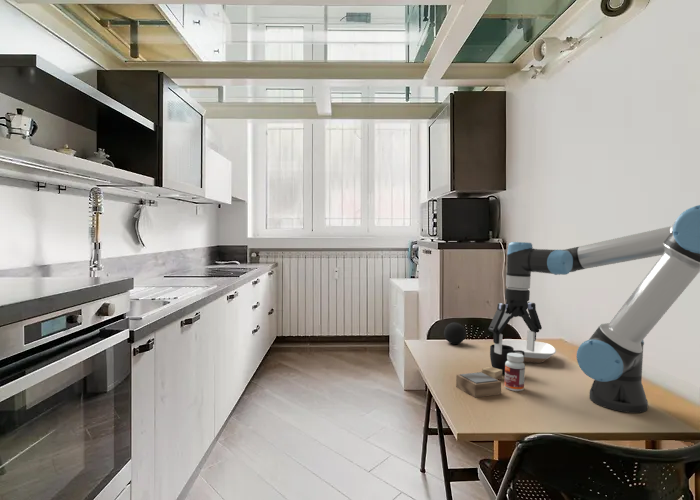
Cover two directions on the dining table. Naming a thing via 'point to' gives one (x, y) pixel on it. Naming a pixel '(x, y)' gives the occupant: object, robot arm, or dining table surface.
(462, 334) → the speaker
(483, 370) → the oak offcut
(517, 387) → the pill bottle
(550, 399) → the dining table surface
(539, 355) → the bowl
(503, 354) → the mug
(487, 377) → the walnut stand
